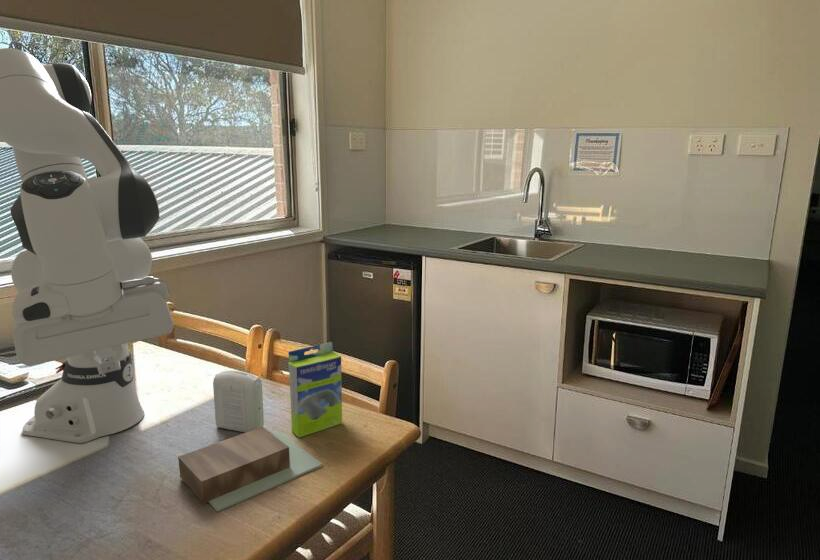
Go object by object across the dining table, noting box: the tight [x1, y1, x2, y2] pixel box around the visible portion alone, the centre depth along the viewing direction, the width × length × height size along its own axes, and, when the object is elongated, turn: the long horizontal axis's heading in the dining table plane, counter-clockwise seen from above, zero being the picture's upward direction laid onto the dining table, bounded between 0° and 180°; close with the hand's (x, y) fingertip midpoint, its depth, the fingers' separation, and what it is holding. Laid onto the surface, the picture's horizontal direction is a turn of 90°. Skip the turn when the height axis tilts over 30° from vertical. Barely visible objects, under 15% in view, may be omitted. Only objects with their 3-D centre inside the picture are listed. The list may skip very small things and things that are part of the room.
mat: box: [208, 431, 323, 513], centre depth 102 cm, size 20×16×1 cm
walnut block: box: [177, 426, 290, 504], centre depth 100 cm, size 4×10×16 cm
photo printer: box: [212, 370, 265, 433], centre depth 116 cm, size 10×4×12 cm, turn 72°
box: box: [287, 341, 343, 438], centre depth 116 cm, size 10×4×17 cm, turn 128°
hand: (110, 370), depth 85 cm, fingers closed
